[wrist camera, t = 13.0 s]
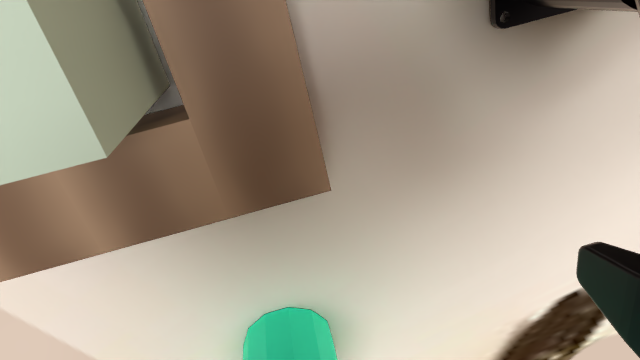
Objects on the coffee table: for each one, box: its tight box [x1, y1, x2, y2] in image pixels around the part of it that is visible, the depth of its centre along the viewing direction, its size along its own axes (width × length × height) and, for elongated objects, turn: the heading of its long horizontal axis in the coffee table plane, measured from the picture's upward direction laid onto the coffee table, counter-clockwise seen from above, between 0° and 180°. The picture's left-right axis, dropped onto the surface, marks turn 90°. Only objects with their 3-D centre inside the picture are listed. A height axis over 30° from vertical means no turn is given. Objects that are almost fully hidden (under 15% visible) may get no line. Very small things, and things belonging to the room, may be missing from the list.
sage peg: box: [0, 0, 170, 185], centre depth 13 cm, size 4×4×9 cm
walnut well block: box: [0, 0, 331, 282], centre depth 16 cm, size 16×16×3 cm
